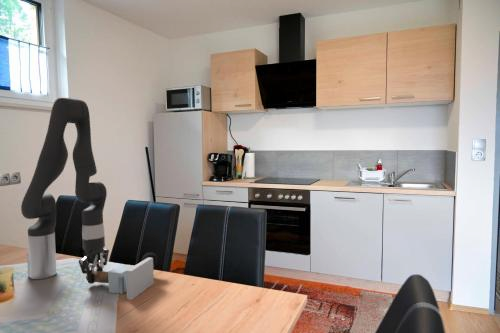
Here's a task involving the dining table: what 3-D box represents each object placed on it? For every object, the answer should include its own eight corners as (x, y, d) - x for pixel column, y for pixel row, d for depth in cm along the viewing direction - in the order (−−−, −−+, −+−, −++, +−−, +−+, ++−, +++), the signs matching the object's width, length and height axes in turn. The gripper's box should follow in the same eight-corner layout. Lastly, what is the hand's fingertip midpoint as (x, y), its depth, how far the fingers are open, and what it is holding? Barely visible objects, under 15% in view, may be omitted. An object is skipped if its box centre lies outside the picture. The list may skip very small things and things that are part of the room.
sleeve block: (108, 292, 120) (108, 271, 120) (122, 283, 128) (121, 264, 127) (122, 293, 119) (121, 273, 118) (135, 284, 126) (134, 265, 126)
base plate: (126, 299, 115) (126, 270, 114) (148, 282, 128) (148, 257, 128) (132, 299, 114) (131, 271, 114) (153, 283, 128) (152, 257, 127)
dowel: (86, 283, 125) (85, 272, 125) (93, 278, 129) (93, 268, 128) (111, 285, 122) (111, 274, 122) (118, 281, 126) (118, 270, 126)
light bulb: (155, 280, 131) (154, 255, 130) (140, 280, 131) (139, 255, 130) (159, 274, 137) (158, 250, 136) (145, 274, 137) (144, 250, 136)
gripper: (98, 230, 133) (99, 273, 134) (70, 240, 119) (73, 287, 120) (114, 231, 131) (116, 274, 132) (88, 241, 117) (90, 289, 118)
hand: (95, 280), depth 126 cm, fingers closed on dowel, 4 cm apart
